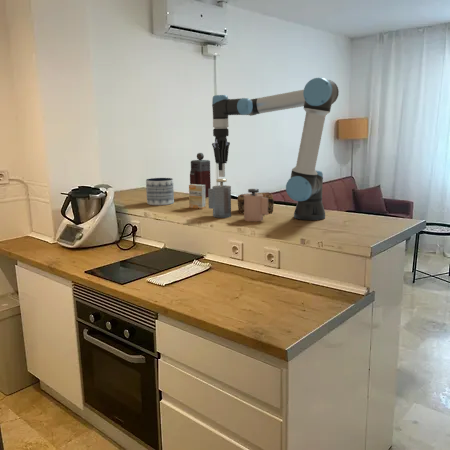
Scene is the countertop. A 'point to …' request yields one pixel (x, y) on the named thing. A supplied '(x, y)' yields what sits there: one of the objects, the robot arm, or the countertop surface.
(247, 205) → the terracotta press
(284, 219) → the countertop surface
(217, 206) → the faceted cylinder
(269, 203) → the bread
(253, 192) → the glossy charcoal round knob
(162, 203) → the planter
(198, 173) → the dark red french press
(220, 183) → the steel plunger
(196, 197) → the supplement box
